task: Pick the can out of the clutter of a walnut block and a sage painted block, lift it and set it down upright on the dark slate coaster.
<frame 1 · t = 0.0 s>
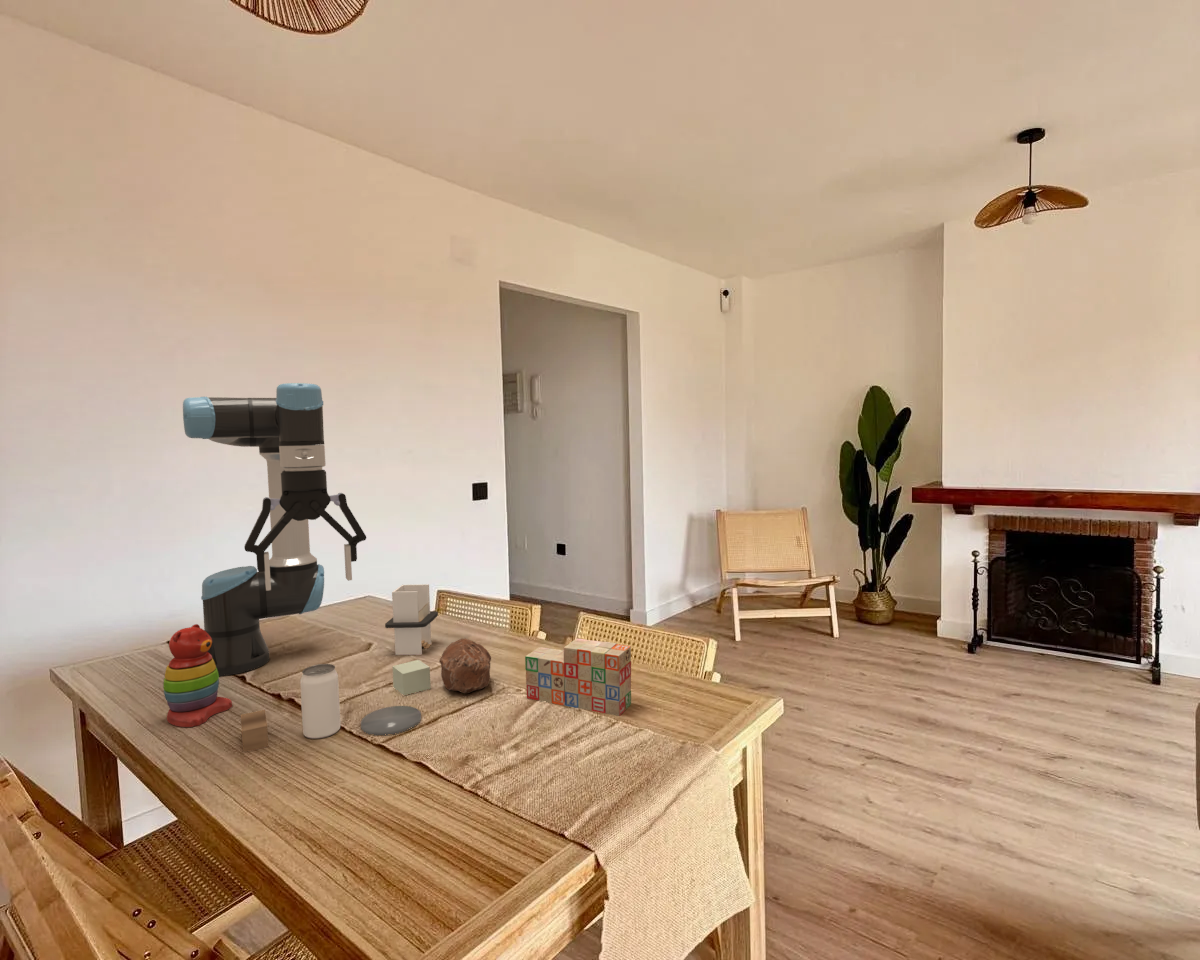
hand: (309, 584, 118), 28 cm above the table, tool pointing down, fingers open, 13 cm apart
sage block: (412, 688, 139), on the table
walnut block: (255, 741, 116), on the table
stacking bear: (195, 715, 128), on the table
slate coaster: (391, 722, 123), on the table
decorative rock: (467, 687, 139), on the table
can: (322, 732, 119), on the table
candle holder: (413, 651, 164), on the table
stack of blocks: (578, 702, 131), on the table
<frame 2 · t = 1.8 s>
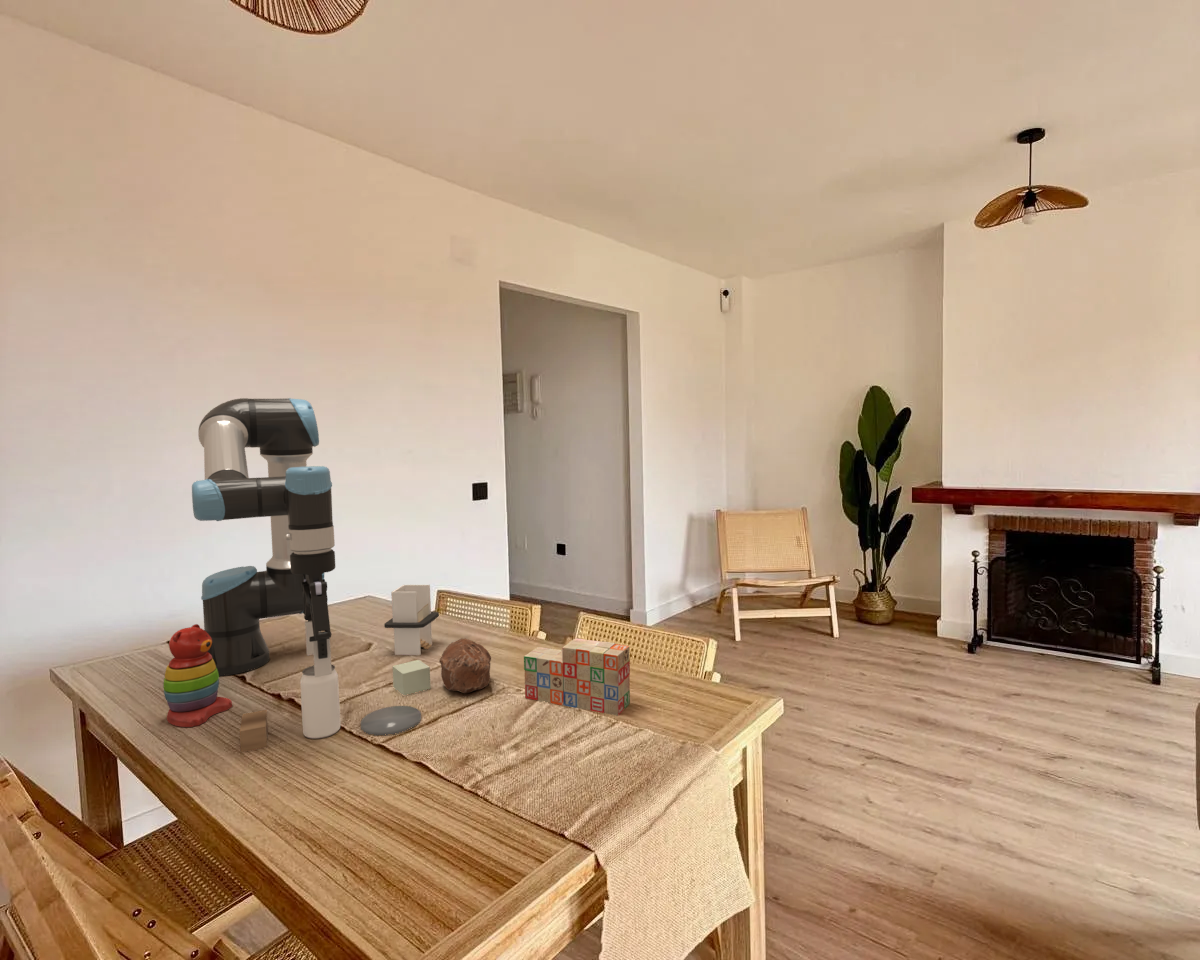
hand: (318, 664, 118), 13 cm above the table, tool pointing down, fingers open, 13 cm apart
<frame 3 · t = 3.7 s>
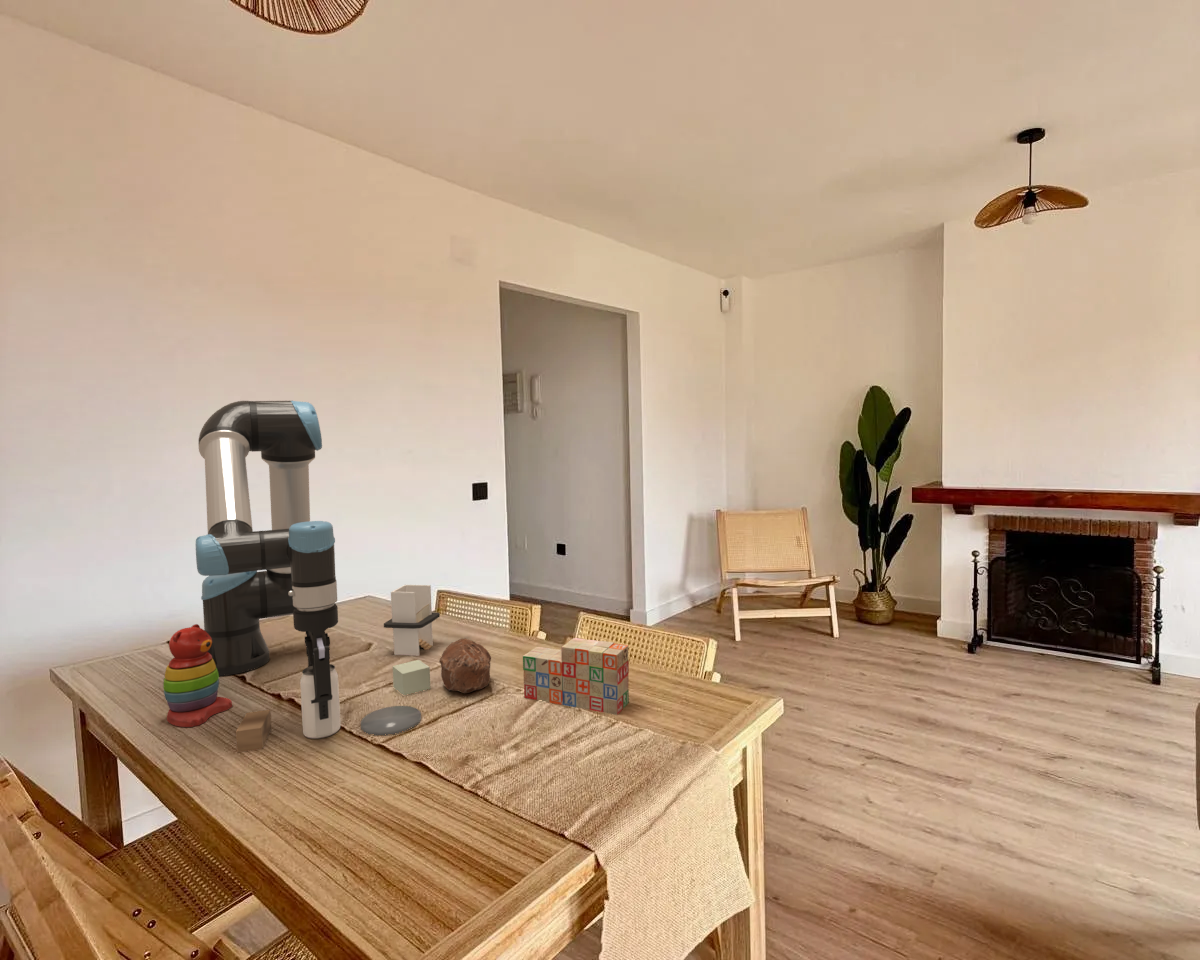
hand: (321, 726, 119), 1 cm above the table, tool pointing down, fingers closed on can, 6 cm apart
can: (322, 732, 119), on the table, touching gripper
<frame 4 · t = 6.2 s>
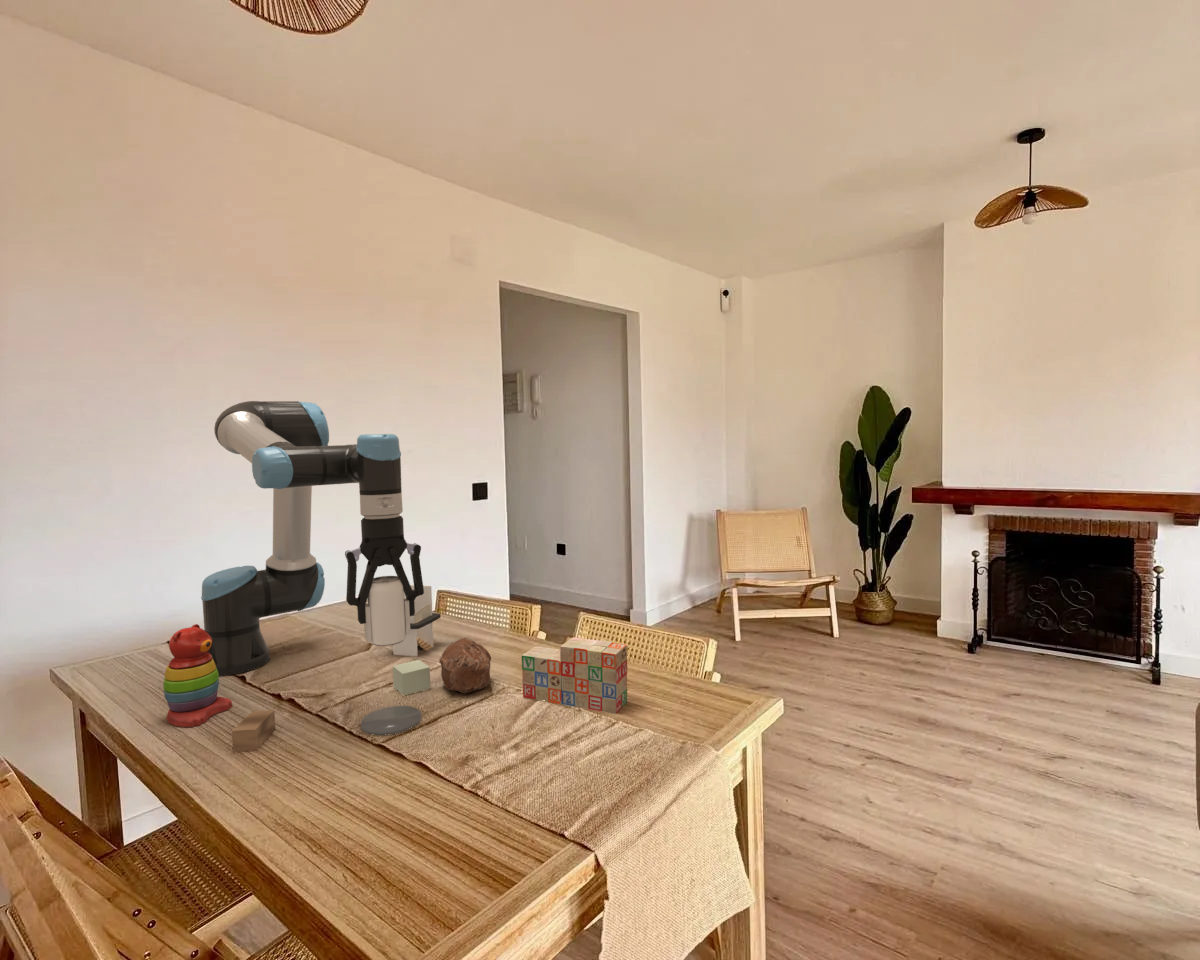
hand: (387, 636, 121), 17 cm above the table, tool pointing down, fingers closed on can, 6 cm apart
can: (388, 642, 121), point 16 cm above the table, touching gripper
when the fingers open (2 cm above the table, at t = 8.8 s): can stays where it is, resting on slate coaster.
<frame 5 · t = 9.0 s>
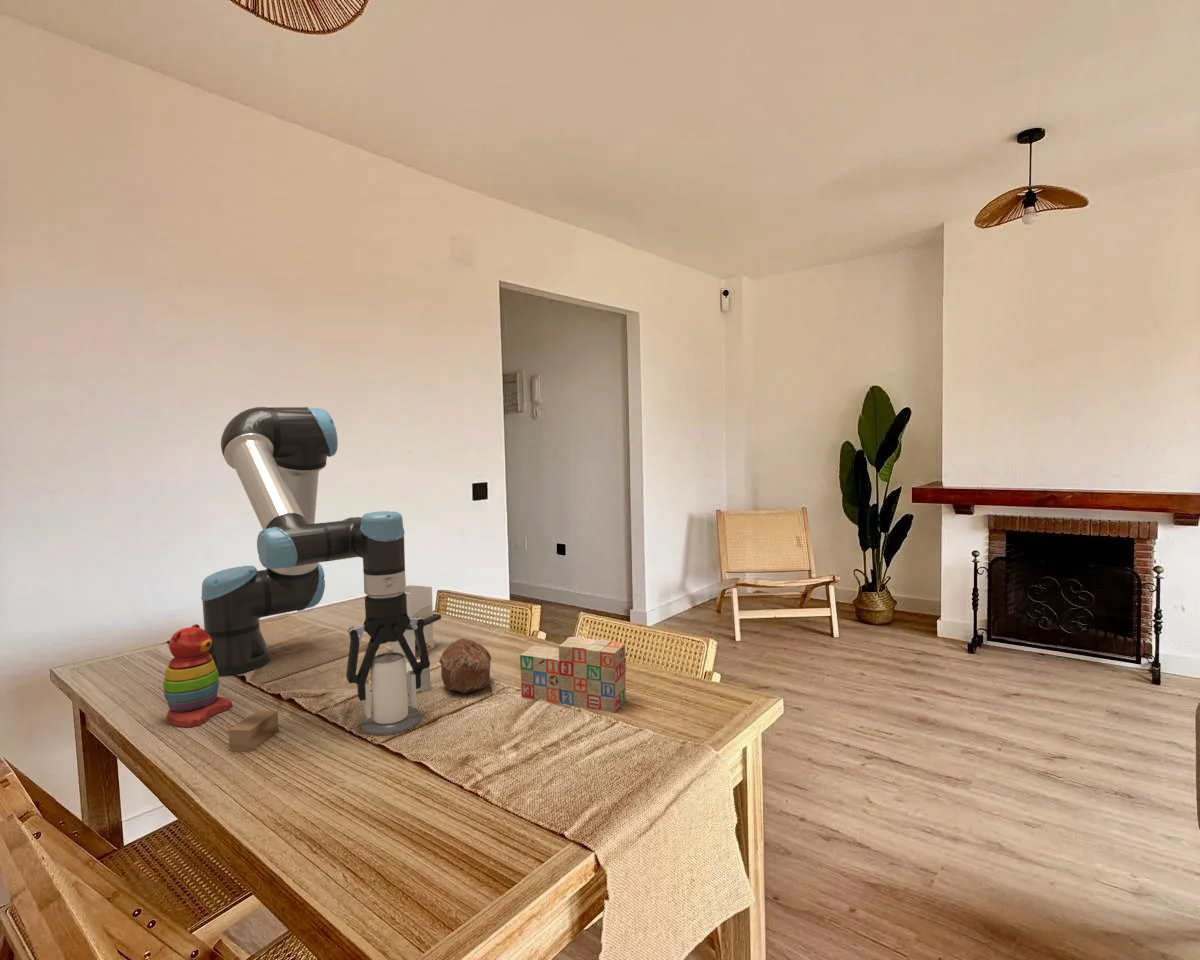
hand: (390, 709, 123), 2 cm above the table, tool pointing down, fingers open, 8 cm apart
can: (390, 719, 123), point 1 cm above the table, touching slate coaster
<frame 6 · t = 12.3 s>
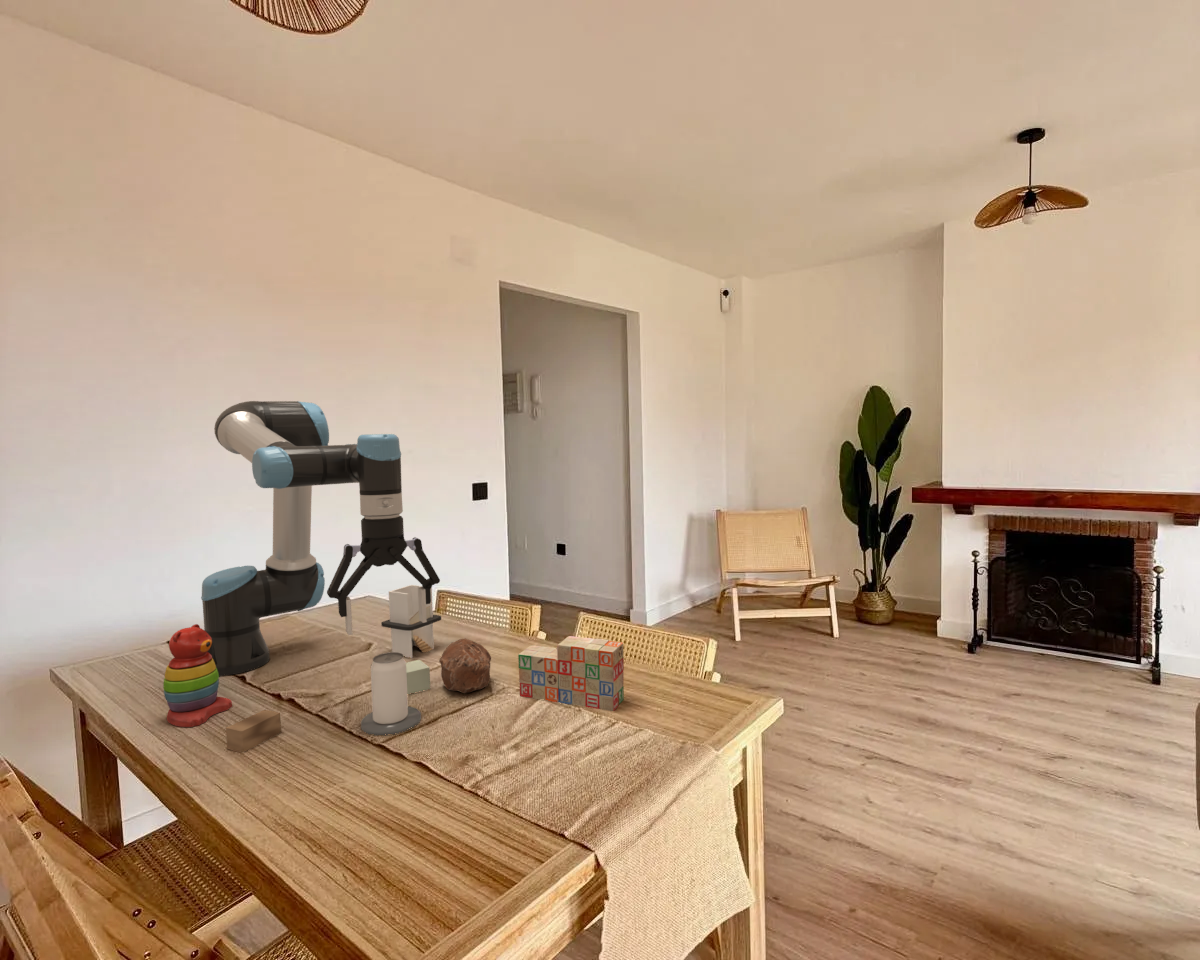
hand: (387, 626, 121), 19 cm above the table, tool pointing down, fingers open, 13 cm apart
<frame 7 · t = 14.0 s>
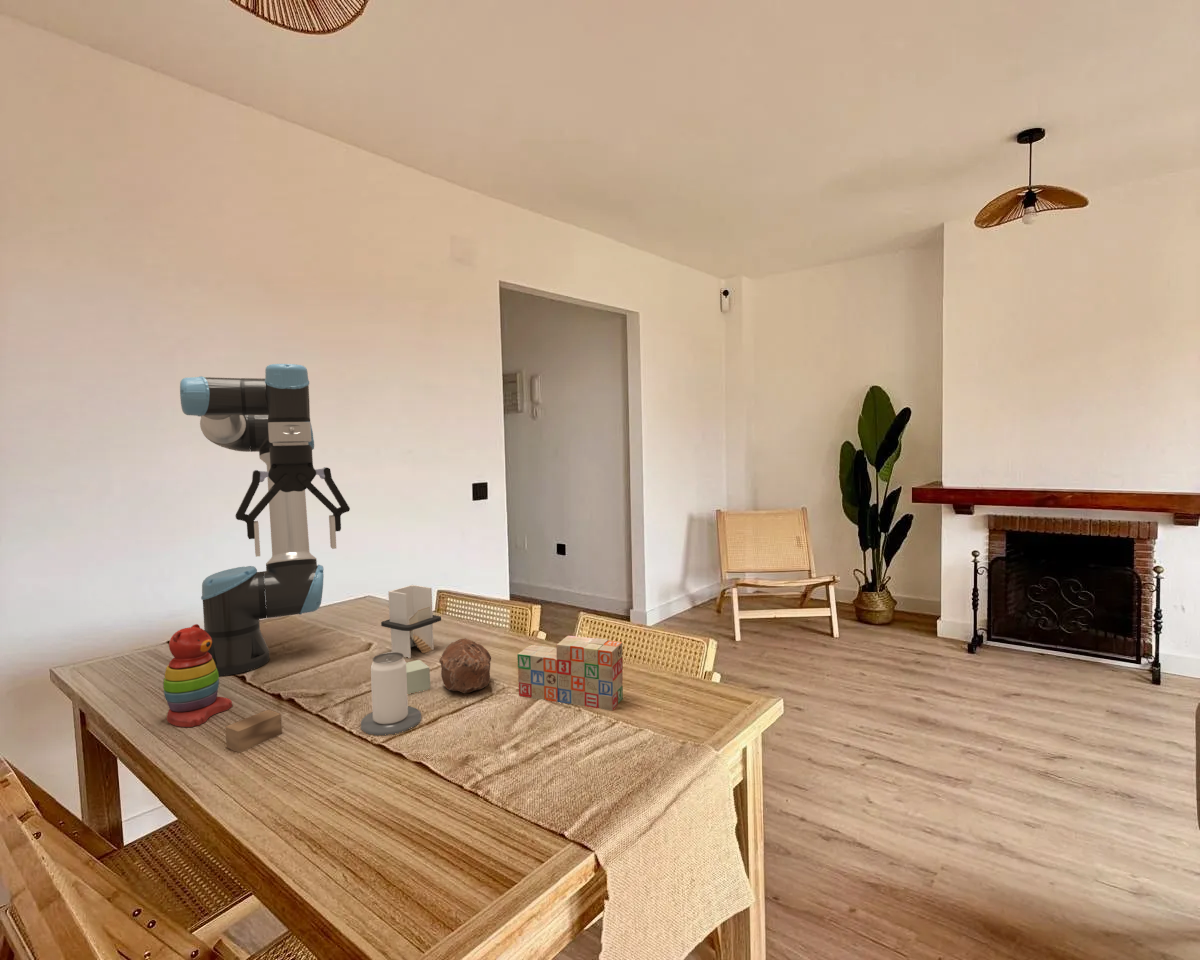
hand: (296, 551, 126), 32 cm above the table, tool pointing down, fingers open, 13 cm apart
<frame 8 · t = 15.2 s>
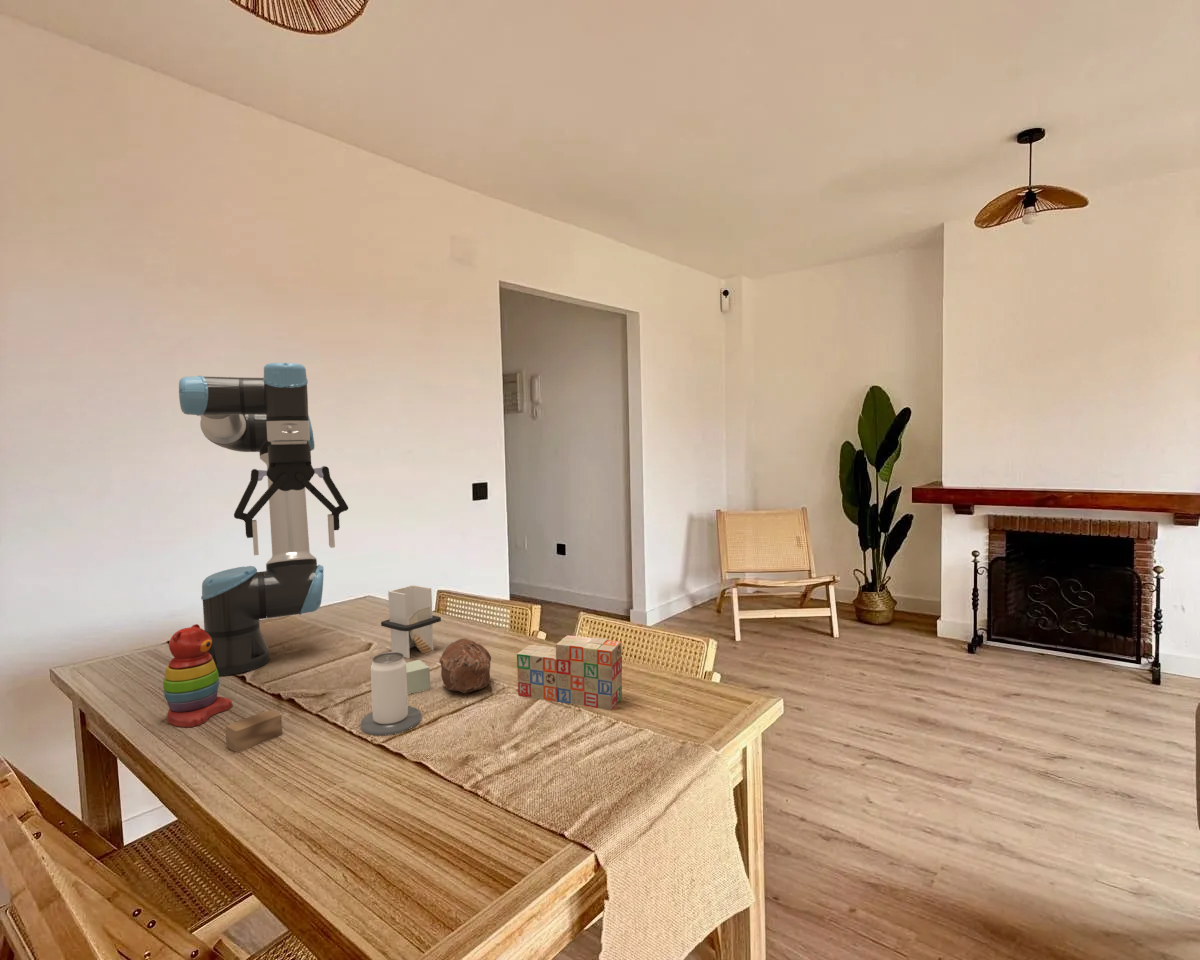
hand: (295, 550, 126), 33 cm above the table, tool pointing down, fingers open, 13 cm apart
at the end: can 0.1 cm from the slate coaster (horizontally); can tilted 0°; the gripper is holding nothing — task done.
